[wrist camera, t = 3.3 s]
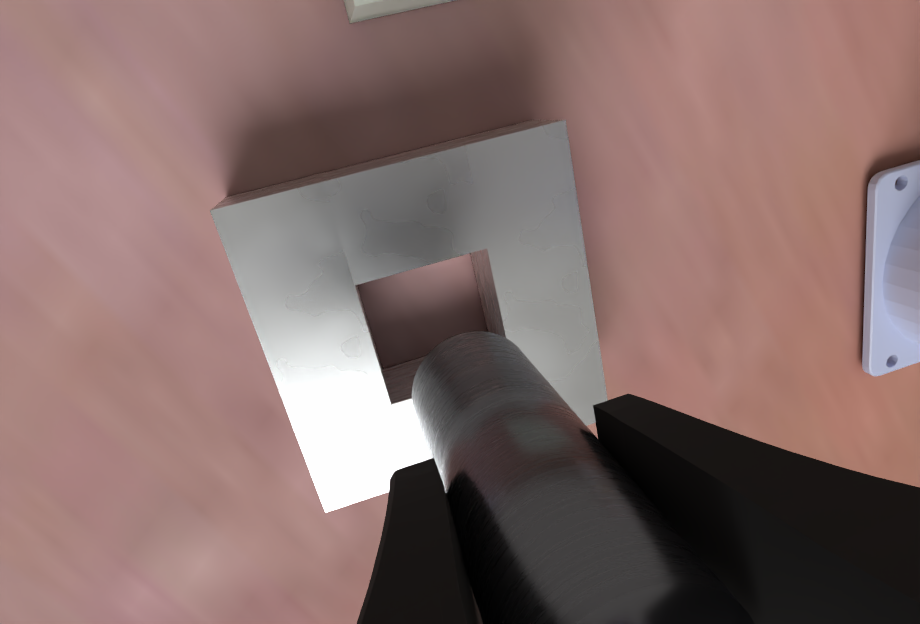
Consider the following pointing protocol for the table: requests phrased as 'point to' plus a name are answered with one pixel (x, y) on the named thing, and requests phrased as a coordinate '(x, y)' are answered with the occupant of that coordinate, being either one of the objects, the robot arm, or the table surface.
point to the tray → (383, 7)
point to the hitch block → (398, 250)
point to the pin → (550, 502)
